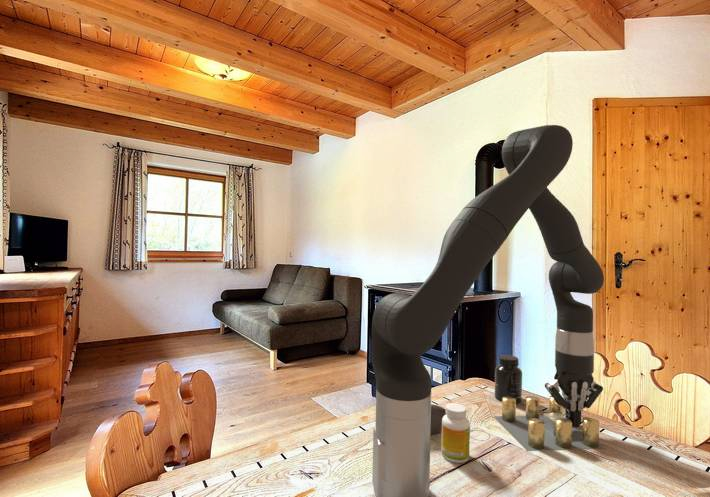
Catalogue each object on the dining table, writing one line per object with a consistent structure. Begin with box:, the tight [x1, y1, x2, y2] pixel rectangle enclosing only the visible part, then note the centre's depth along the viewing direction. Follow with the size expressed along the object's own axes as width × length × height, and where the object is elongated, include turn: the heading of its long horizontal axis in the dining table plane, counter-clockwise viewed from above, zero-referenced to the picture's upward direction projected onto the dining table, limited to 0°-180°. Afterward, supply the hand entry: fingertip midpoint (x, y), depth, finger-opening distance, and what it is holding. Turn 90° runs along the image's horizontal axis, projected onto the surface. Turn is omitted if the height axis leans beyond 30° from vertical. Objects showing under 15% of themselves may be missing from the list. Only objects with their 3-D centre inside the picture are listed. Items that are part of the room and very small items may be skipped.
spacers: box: [501, 395, 600, 449], centre depth 82 cm, size 15×14×5 cm
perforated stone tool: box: [430, 403, 446, 435], centre depth 81 cm, size 15×5×7 cm, turn 98°
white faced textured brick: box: [542, 412, 569, 435], centre depth 82 cm, size 4×4×3 cm
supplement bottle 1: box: [440, 402, 471, 464], centre depth 73 cm, size 5×5×10 cm
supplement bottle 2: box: [494, 354, 523, 405], centre depth 99 cm, size 7×7×12 cm
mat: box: [492, 414, 607, 452], centre depth 82 cm, size 23×15×1 cm, turn 95°
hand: (573, 425), depth 82 cm, fingers closed
